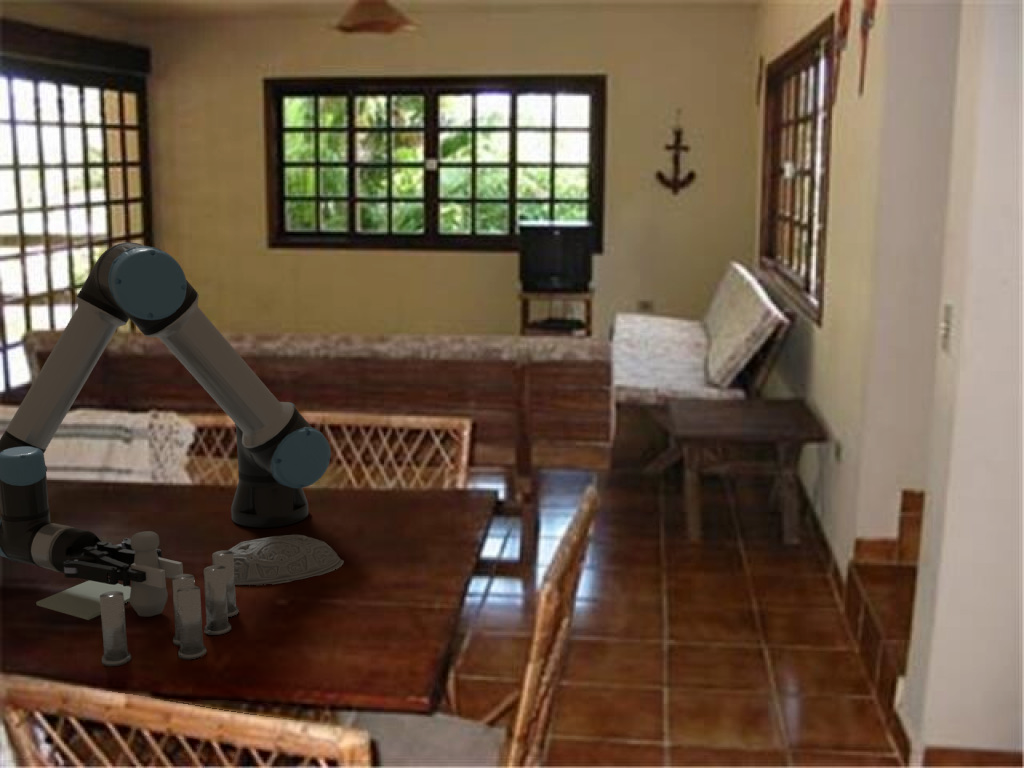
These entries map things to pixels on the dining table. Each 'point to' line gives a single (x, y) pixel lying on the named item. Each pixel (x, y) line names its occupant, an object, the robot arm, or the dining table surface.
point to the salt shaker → (143, 595)
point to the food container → (282, 559)
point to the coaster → (82, 599)
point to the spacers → (178, 612)
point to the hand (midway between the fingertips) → (172, 575)
